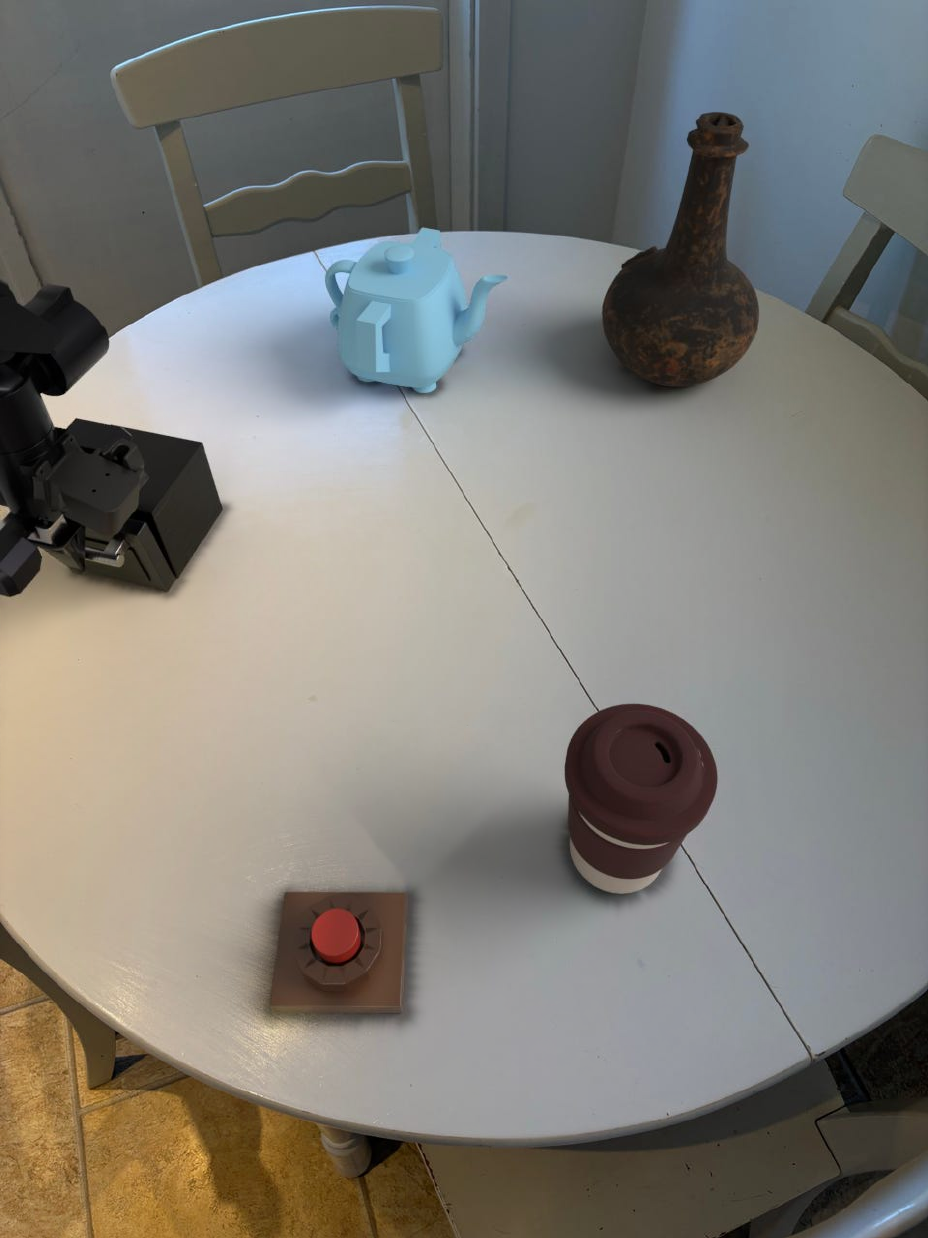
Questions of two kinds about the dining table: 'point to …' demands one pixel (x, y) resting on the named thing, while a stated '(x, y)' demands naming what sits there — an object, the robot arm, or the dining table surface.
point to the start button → (336, 935)
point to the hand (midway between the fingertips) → (79, 571)
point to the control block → (351, 984)
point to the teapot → (405, 312)
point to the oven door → (128, 556)
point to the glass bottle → (688, 278)
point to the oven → (175, 495)
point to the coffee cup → (634, 793)
